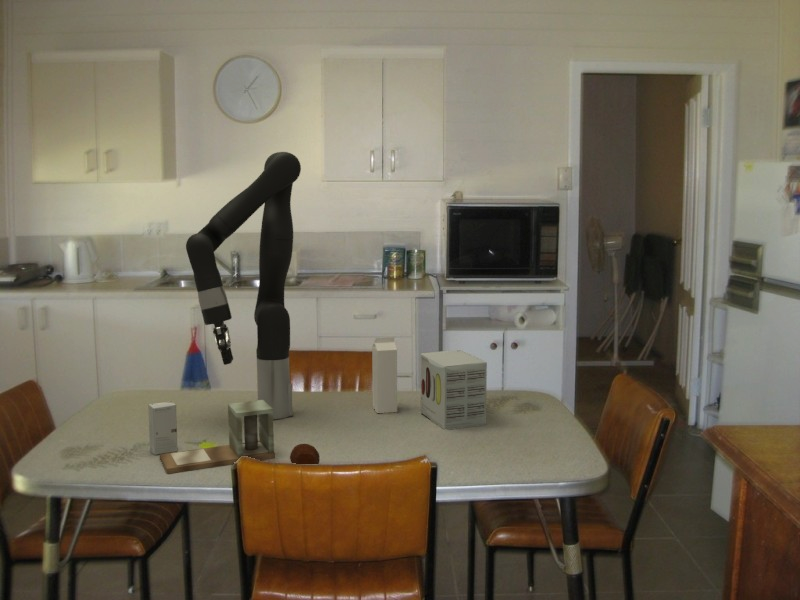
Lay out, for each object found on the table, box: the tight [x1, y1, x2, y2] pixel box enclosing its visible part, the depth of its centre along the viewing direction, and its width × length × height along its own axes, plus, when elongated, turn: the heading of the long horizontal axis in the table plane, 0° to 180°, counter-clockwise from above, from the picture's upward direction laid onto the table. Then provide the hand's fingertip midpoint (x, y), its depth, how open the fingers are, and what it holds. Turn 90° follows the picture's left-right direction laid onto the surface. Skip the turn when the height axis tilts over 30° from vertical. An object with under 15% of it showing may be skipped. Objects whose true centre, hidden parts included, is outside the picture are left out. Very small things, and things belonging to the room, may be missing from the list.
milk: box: [371, 336, 398, 414], centre depth 242 cm, size 6×6×22 cm
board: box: [159, 399, 276, 475], centre depth 202 cm, size 26×11×12 cm, turn 115°
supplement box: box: [420, 349, 488, 430], centre depth 234 cm, size 17×13×18 cm
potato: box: [289, 443, 320, 464], centre depth 195 cm, size 7×9×6 cm
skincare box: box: [148, 401, 178, 456], centre depth 208 cm, size 6×4×12 cm
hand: (228, 362), depth 227 cm, fingers open, 8 cm apart
